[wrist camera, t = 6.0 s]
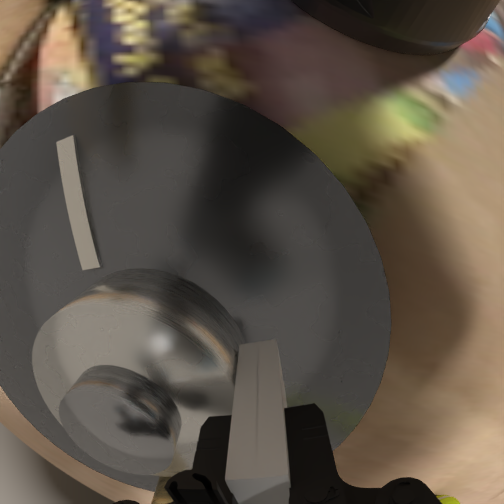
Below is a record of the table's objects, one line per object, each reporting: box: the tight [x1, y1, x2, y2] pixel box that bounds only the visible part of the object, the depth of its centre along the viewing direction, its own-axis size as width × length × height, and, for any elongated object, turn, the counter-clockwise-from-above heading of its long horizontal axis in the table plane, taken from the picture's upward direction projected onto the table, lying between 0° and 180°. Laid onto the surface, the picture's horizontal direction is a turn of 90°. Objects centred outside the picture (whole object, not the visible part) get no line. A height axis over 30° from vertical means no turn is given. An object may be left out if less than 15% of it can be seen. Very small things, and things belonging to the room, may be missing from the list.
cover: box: [32, 268, 245, 477], centre depth 11 cm, size 9×9×6 cm
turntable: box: [0, 82, 391, 504], centre depth 13 cm, size 26×26×7 cm
